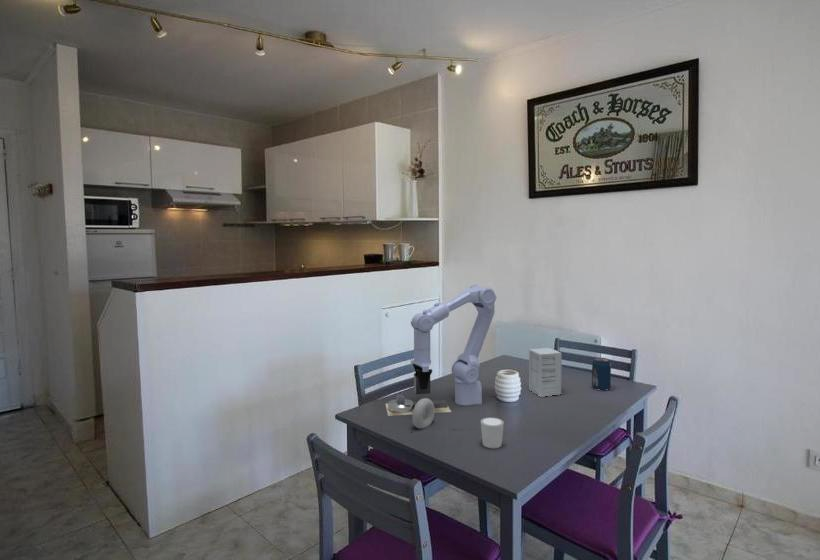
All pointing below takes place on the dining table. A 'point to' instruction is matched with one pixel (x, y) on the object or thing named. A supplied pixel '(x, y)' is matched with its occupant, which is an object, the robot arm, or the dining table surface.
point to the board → (437, 410)
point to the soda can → (601, 373)
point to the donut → (429, 413)
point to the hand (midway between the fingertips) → (422, 386)
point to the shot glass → (492, 432)
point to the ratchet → (410, 404)
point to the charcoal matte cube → (417, 386)
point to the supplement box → (545, 371)
